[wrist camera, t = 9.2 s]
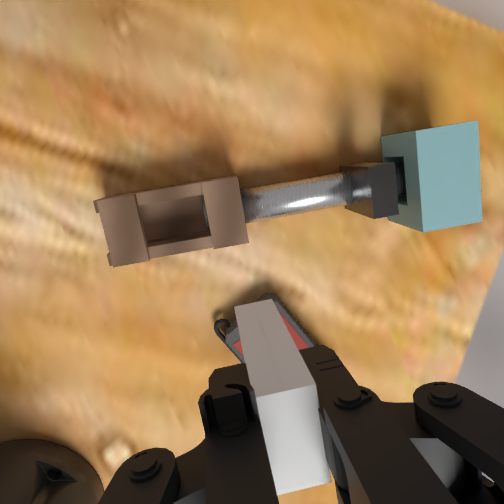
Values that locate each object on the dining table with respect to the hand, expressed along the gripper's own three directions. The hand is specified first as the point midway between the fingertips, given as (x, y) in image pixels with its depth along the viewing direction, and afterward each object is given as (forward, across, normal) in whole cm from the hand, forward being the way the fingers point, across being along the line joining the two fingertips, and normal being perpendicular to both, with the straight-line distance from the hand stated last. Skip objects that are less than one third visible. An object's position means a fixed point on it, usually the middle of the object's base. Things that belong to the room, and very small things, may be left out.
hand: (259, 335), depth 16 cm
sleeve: (+24, -4, +3) cm, 24 cm away
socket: (+23, +18, +3) cm, 30 cm away
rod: (+23, +8, +3) cm, 25 cm away
